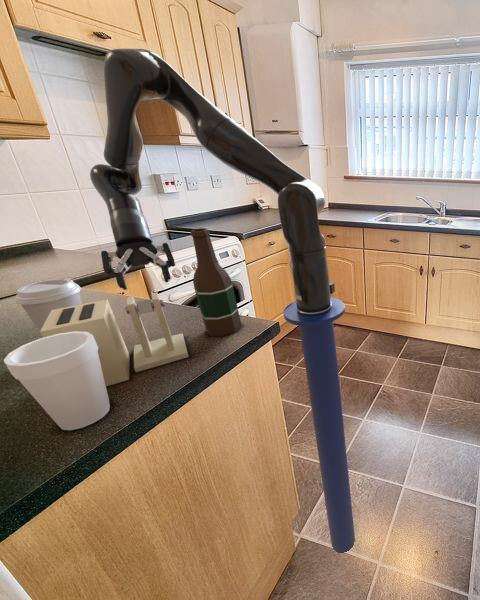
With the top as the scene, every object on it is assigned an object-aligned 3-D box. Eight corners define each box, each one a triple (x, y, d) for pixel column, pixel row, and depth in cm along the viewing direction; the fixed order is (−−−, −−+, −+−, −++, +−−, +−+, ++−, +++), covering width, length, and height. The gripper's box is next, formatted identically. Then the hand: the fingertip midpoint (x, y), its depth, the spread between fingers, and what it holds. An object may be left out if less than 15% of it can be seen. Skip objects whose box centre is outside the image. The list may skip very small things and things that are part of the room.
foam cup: (116, 389, 60) (88, 325, 55) (127, 414, 55) (97, 345, 49) (43, 416, 54) (4, 348, 49) (46, 448, 48) (2, 374, 43)
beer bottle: (227, 319, 86) (204, 224, 76) (248, 325, 82) (227, 227, 73) (198, 332, 79) (169, 231, 69) (221, 340, 76) (194, 235, 66)
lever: (136, 314, 75) (133, 304, 75) (165, 308, 78) (162, 298, 78) (129, 316, 64) (125, 304, 64) (163, 308, 67) (159, 297, 67)
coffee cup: (112, 344, 75) (86, 281, 69) (57, 366, 67) (22, 297, 61) (91, 334, 79) (64, 274, 73) (36, 354, 71) (2, 289, 65)
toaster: (79, 369, 66) (50, 309, 61) (129, 355, 70) (107, 298, 65) (72, 396, 59) (39, 330, 53) (129, 379, 63) (103, 317, 58)
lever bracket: (135, 350, 72) (114, 295, 67) (183, 337, 77) (167, 285, 72) (135, 372, 65) (112, 313, 60) (188, 357, 70) (171, 301, 65)
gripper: (90, 225, 80) (104, 283, 76) (161, 218, 88) (177, 271, 84) (100, 242, 86) (114, 297, 82) (166, 234, 94) (181, 285, 90)
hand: (146, 284), depth 83 cm, fingers open, 8 cm apart
